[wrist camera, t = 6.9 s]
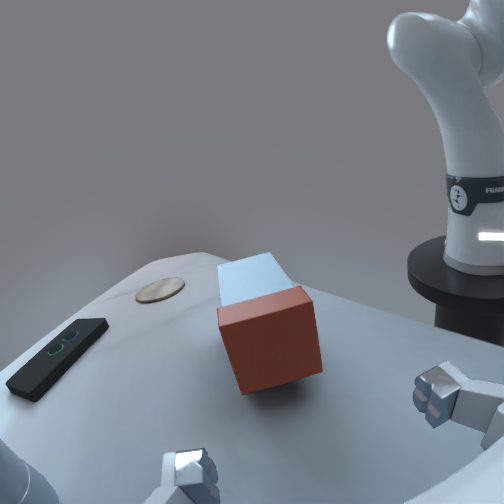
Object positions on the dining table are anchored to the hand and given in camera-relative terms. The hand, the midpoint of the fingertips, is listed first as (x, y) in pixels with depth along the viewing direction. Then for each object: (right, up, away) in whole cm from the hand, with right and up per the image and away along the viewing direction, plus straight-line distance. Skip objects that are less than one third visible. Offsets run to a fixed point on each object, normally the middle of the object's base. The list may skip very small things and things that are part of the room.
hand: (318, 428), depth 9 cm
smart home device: (-31, -10, +27) cm, 43 cm away
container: (-1, -2, +19) cm, 19 cm away
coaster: (-20, -1, +47) cm, 51 cm away
